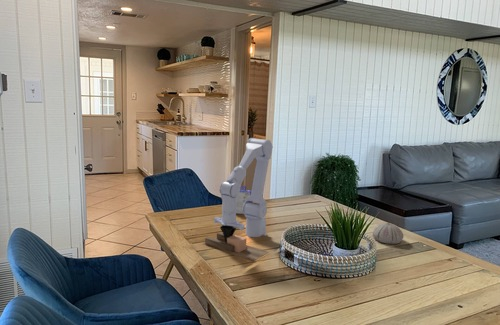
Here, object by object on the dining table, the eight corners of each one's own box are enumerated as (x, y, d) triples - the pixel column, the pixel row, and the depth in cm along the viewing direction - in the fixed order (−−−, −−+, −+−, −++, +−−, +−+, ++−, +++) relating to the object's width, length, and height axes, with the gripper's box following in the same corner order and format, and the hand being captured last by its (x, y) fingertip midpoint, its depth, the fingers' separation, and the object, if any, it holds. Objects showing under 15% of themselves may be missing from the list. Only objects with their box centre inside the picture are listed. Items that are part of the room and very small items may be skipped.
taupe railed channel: (220, 237, 172) (220, 230, 171) (270, 253, 157) (270, 245, 156) (199, 247, 161) (199, 239, 160) (251, 264, 146) (251, 255, 145)
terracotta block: (234, 245, 162) (234, 234, 161) (246, 248, 158) (246, 238, 157) (226, 248, 158) (227, 238, 157) (238, 252, 154) (238, 241, 153)
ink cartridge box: (251, 212, 211) (252, 186, 209) (249, 215, 206) (250, 188, 203) (233, 210, 213) (234, 184, 210) (231, 213, 208) (232, 186, 205)
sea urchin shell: (392, 248, 168) (394, 230, 166) (365, 238, 178) (367, 222, 176) (408, 242, 176) (410, 225, 174) (381, 233, 186) (383, 217, 185)
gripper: (209, 209, 159) (208, 241, 161) (237, 216, 151) (236, 250, 153) (220, 205, 165) (219, 236, 167) (247, 212, 156) (246, 244, 159)
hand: (228, 242), depth 160 cm, fingers closed
